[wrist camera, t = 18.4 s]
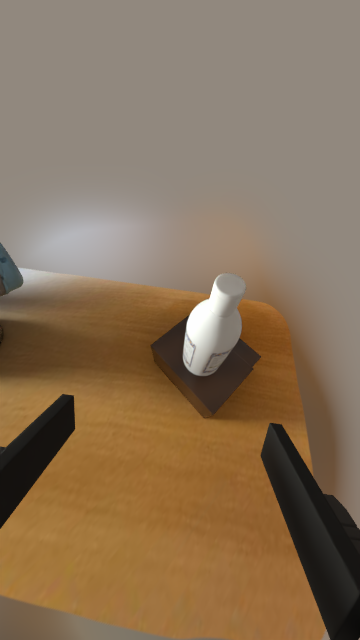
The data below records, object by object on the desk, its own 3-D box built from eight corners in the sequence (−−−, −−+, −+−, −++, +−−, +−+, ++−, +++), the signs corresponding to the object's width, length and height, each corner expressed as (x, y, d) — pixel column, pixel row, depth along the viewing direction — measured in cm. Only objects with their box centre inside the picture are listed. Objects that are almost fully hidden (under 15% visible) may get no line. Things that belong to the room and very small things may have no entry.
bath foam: (225, 349, 35) (276, 272, 18) (212, 383, 32) (259, 329, 14) (191, 334, 36) (209, 249, 19) (176, 366, 33) (179, 296, 16)
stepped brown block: (154, 362, 43) (150, 345, 35) (204, 320, 50) (210, 298, 41) (204, 418, 38) (213, 415, 29) (252, 363, 44) (272, 347, 35)
